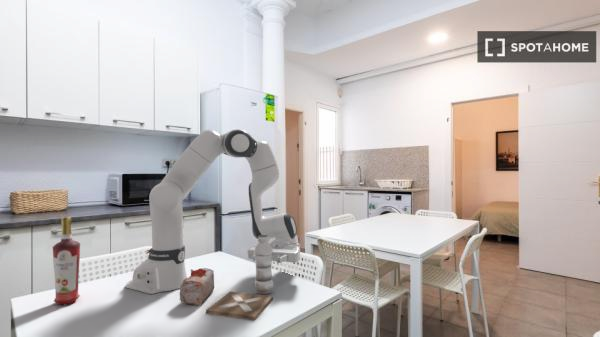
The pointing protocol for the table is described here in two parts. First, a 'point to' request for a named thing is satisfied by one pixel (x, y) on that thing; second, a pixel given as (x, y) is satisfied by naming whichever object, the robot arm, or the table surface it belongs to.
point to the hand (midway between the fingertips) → (266, 259)
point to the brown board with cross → (240, 305)
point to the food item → (197, 286)
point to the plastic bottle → (263, 266)
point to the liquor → (66, 265)
